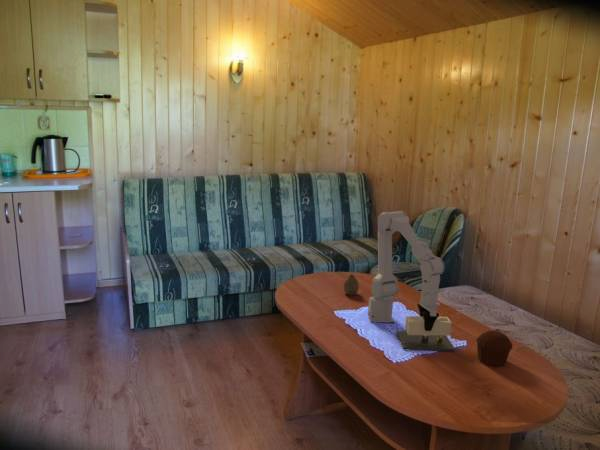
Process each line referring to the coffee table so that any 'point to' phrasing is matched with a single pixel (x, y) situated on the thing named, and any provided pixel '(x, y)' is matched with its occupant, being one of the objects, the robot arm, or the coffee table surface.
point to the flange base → (425, 342)
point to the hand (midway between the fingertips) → (426, 327)
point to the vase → (351, 285)
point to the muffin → (493, 348)
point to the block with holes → (417, 327)
